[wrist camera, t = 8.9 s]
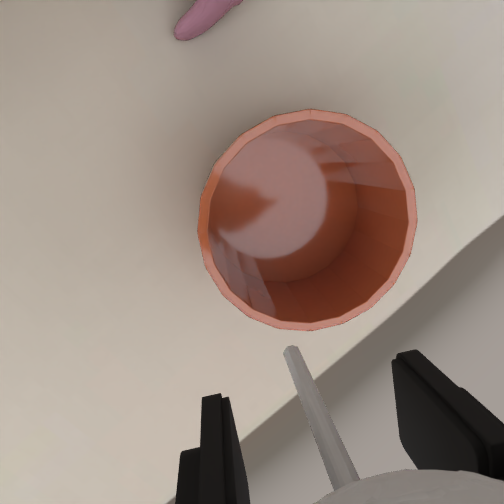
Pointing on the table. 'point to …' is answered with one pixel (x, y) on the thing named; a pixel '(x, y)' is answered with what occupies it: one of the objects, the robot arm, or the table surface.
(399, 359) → the robot arm
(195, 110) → the table surface
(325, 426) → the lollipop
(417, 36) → the table surface
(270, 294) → the pen pot
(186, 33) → the video game controller
